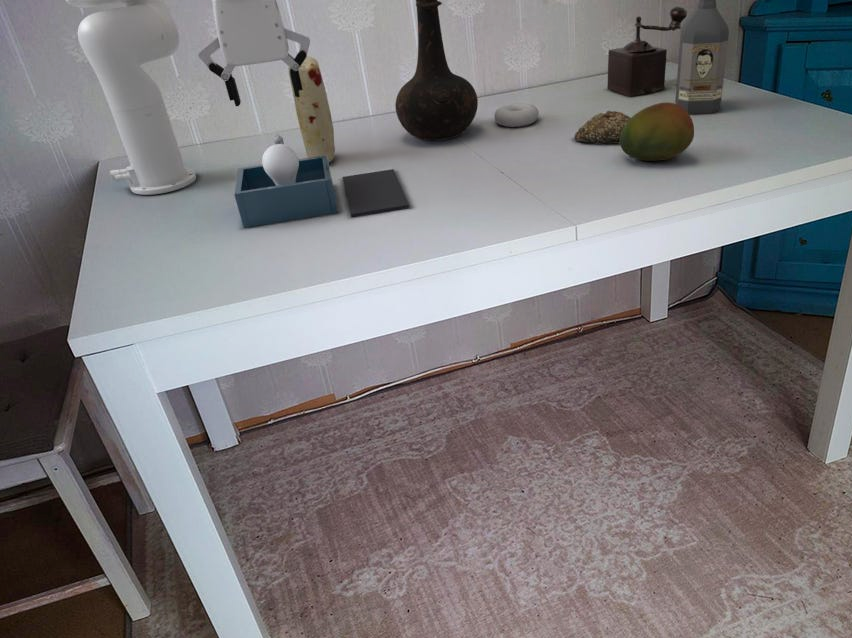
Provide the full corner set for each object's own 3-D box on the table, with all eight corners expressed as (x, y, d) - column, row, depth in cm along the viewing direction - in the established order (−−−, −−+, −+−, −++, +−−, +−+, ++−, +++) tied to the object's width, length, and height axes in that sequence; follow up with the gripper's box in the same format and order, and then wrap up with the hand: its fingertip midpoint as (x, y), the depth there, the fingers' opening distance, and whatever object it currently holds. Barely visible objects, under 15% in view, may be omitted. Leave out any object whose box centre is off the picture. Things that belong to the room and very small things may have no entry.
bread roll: (632, 146, 138) (633, 120, 135) (570, 144, 141) (570, 119, 139) (641, 127, 147) (643, 103, 145) (584, 126, 151) (584, 102, 148)
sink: (243, 228, 118) (226, 166, 112) (247, 196, 131) (231, 139, 125) (338, 212, 120) (326, 151, 114) (332, 182, 133) (321, 126, 127)
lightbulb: (315, 204, 125) (301, 142, 119) (286, 215, 121) (271, 152, 115) (295, 197, 128) (281, 137, 122) (267, 208, 125) (251, 147, 119)
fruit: (700, 163, 127) (706, 106, 121) (637, 175, 124) (640, 117, 119) (668, 146, 136) (672, 92, 130) (609, 156, 134) (611, 102, 128)
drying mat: (351, 217, 118) (350, 213, 118) (342, 179, 134) (342, 176, 134) (409, 207, 120) (409, 204, 119) (394, 171, 136) (393, 168, 136)
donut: (525, 131, 152) (546, 117, 159) (524, 115, 150) (546, 102, 157) (486, 127, 157) (509, 114, 164) (485, 111, 155) (508, 99, 162)
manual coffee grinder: (631, 98, 167) (634, 15, 157) (606, 89, 176) (608, 10, 166) (684, 87, 172) (691, 6, 162) (657, 79, 181) (662, 2, 171)
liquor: (674, 104, 160) (685, -47, 143) (715, 102, 159) (732, -50, 142) (677, 115, 153) (690, -42, 136) (721, 113, 151) (739, -46, 134)
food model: (341, 164, 142) (321, 60, 131) (308, 170, 141) (285, 65, 130) (337, 151, 150) (318, 51, 139) (306, 156, 149) (284, 56, 138)
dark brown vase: (404, 152, 146) (384, 3, 130) (395, 129, 160) (376, -7, 145) (487, 140, 148) (477, -7, 132) (471, 119, 163) (460, -16, 147)
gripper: (296, -26, 109) (319, 87, 119) (182, -13, 107) (216, 103, 116) (297, -23, 103) (321, 97, 113) (176, -8, 101) (212, 113, 110)
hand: (268, 99), depth 115 cm, fingers open, 9 cm apart
